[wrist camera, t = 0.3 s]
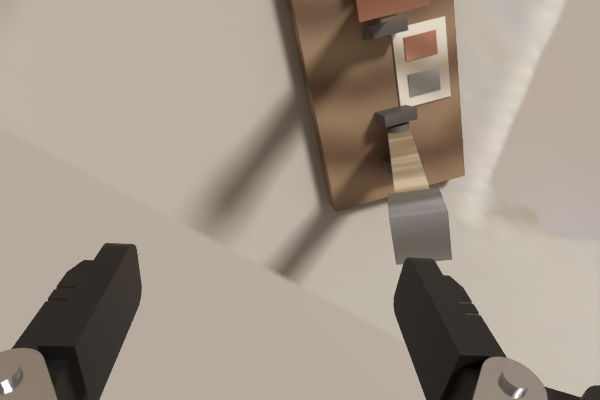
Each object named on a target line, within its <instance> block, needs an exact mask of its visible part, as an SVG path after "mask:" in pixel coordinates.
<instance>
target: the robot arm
mask: <svg viewBox="0 0 600 400" xmlns="http://www.w3.org/2000/svg"><path fill="white" fill-rule="evenodd" d="M141 287H142V286H141V278H140V270H139V263H138V255H137V249H136V246H135V245H134V244H116V243H106V244H104V245H103V247H102V248H101V250H100V251H99V253H98V254H97V256H96V257H95V259H94V260H83V261H82V262H80V263H79V264H78V265H76V266H75V267H73V268H72V269H71V270H69V271H68V272H67V273H66V274H65V276H64V277H63V278H62V280H61V281H60V282H59V284H58V285H57V289H55V290H54V291H53V292H52V294H51V295H50V296H49V298H48V301H46V302H45V303H44V305H43V306H42V307H41V309H40V310H39V312H38V313H37V314H36V316H35V317H34V319H33V320H32V321H31V323H30V324H29V325H28V327H27V328H26V330H25V331H24V332H23V334H22V335H21V336H20V338H19V339H18V341H17V342H16V344H15V345H14V346H13V348H12V349H10V350H7V351H3V352H1V353H0V400H99V399H100V396H101V394H102V392H103V390H104V387H105V385H106V382H107V380H108V378H109V375H110V373H111V370H112V368H113V366H114V363H115V361H116V359H117V356H118V354H119V352H120V349H121V347H122V344H123V342H124V340H125V337H126V335H127V333H128V330H129V328H130V326H131V323H132V321H133V318H134V316H135V314H136V311H137V309H138V306H139V303H140V299H141V290H142V289H141ZM471 302H472V301H471V300H470V298H469V296H468V295H467V293H466V291H465V290H464V288H463V287H462V286H461V285H459V284H458V283H457V282H456V281H455V280H454V279H453V278H451V277H450V276H444V275H443V274H442V273H441V271H440V269H439V267H438V266H437V264H436V262H435V261H434V260H433V259H432V258H412V257H408V258H406V259H405V261H404V264H403V267H402V271H401V274H400V278H399V281H398V284H397V288H396V291H395V295H394V312H395V316H396V318H397V321H398V324H399V327H400V329H401V332H402V335H403V338H404V340H405V343H406V346H407V348H408V351H409V354H410V356H411V359H412V362H413V365H414V367H415V370H416V373H417V376H418V378H419V381H420V384H421V386H422V389H423V392H424V395H425V397H426V400H600V385H599V386H591V387H589V388H588V389H587V390H586V391H585V393H584V394H583V395H582V397H577V396H574V395H571V394H567V393H564V392H560V391H557V390H554V389H550V388H547V387H544V385H543V384H542V382H541V381H540V380H539V378H538V377H537V376H536V375H535V374H534V373H533V372H532V371H531V370H529V369H528V368H527V367H525V366H524V365H522V364H521V363H519V362H517V361H514V360H512V359H509V358H507V357H506V356H505V354H504V352H503V351H502V349H501V348H500V346H499V344H498V343H497V341H496V340H495V338H494V336H493V335H492V333H491V332H490V330H489V328H488V327H487V325H486V324H485V322H484V320H483V319H482V317H481V316H480V315H479V314H478V313H479V312H478V311H477V309H476V308H475V306H474V304H472V303H471Z"/></svg>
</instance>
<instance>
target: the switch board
mask: <svg viewBox="0 0 600 400" xmlns="http://www.w3.org/2000/svg"><path fill="white" fill-rule="evenodd" d="M288 4H289V9H290V14H291V18H292V23H293V28H294V32H295V37H296V42H297V46H298V51H299V56H300V60H301V65H302V70H303V74H304V79H305V84H306V88H307V93H308V98H309V102H310V107H311V112H312V116H313V121H314V126H315V130H316V135H317V140H318V144H319V149H320V154H321V158H322V163H323V168H324V172H325V177H326V182H327V186H328V191H329V196H330V201H331V205H332V206H333V208H334V209H335V211H336V212H337V211H341V210H344V209H348V208H351V207H355V206H358V205H362V204H365V203H369V202H372V201H376V200H379V199H383V198H387V197H388V194H392V193H395V191H394V182H393V174H392V165H391V157H390V148H389V139H388V131H387V127H390V126H394V125H397V124H401V123H405V122H409V125H410V130H411V133H412V136H413V139H414V142H415V145H416V148H417V151H418V154H419V157H420V160H421V163H422V166H423V170H424V173H425V176H426V179H427V182H428V185H433V184H436V183H440V182H443V181H447V180H450V179H454V178H457V177H461V176H464V175H465V171H464V155H463V140H462V124H461V108H460V92H459V77H458V61H457V45H456V29H455V14H454V0H430V5H427V6H424V7H420V8H416V9H412V10H408V11H404V12H400V13H397V16H393V17H388V18H384V19H380V20H376V21H372V20H368V21H364V22H359V16H358V9H357V3H356V0H288Z"/></svg>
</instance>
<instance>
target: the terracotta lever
mask: <svg viewBox="0 0 600 400" xmlns="http://www.w3.org/2000/svg"><path fill="white" fill-rule="evenodd" d="M356 3H357V9H358V16H359V22H364V21H368V20H372V21H376V20H380V19H384V18H388V17H393V16H397V13H400V12H404V11H408V10H412V9H416V8H420V7H424V6H427V5H430V0H356Z"/></svg>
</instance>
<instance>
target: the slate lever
mask: <svg viewBox="0 0 600 400" xmlns="http://www.w3.org/2000/svg"><path fill="white" fill-rule="evenodd" d="M387 131H388V139H389V148H390V157H391V165H392V174H393V182H394V191H395V193H392V194H388V208H389V220H390V226H391V233H392V240H393V246H394V253H395V259H396V265H397V264H404V261H405V259H406V258H408V257H412V258H432V259H433V260H434V261H442V260H452V254H451V242H450V231H449V219H448V210H447V208H446V205H445V203H444V200H443V197H442V195H441V192H440V190H439V187H437V188H429V185H428V182H427V179H426V176H425V173H424V170H423V166H422V163H421V160H420V157H419V154H418V151H417V148H416V145H415V142H414V139H413V136H412V133H411V130H410V125H409V122H405V123H401V124H397V125H394V126H390V127H387Z"/></svg>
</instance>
